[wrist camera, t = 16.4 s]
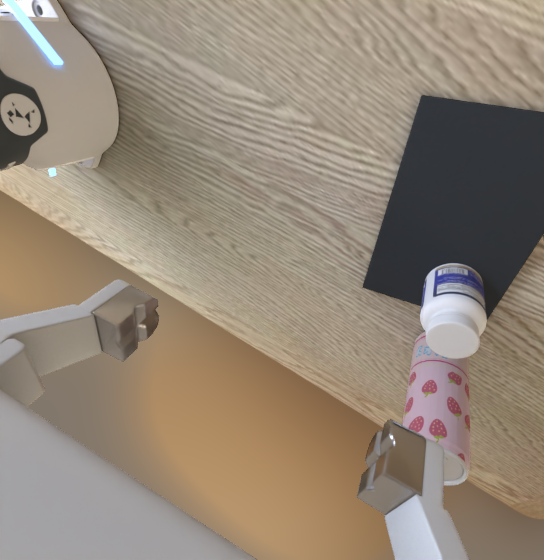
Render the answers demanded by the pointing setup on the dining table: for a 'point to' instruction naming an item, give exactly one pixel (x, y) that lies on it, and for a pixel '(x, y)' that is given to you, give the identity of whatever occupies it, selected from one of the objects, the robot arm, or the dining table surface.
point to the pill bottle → (453, 310)
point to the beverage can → (441, 406)
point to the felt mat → (462, 198)
